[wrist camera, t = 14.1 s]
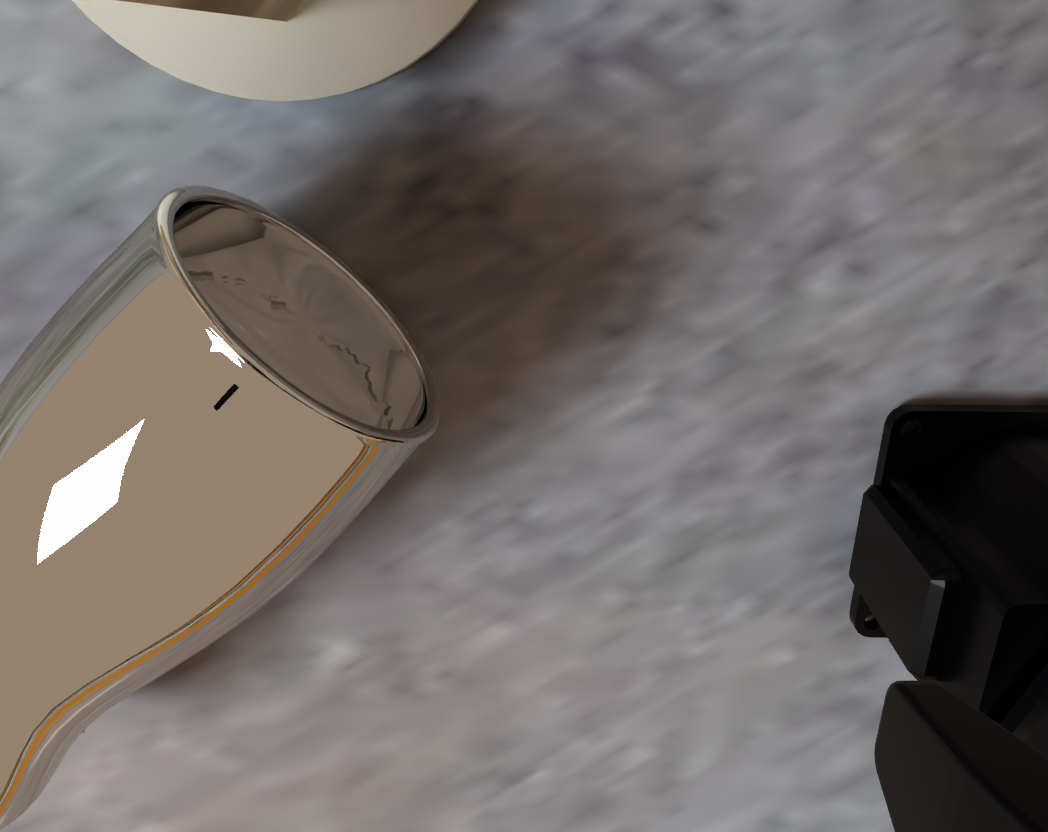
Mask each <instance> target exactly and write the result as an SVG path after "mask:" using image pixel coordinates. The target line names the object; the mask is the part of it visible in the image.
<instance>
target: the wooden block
mask: <svg viewBox="0 0 1048 832" xmlns="http://www.w3.org/2000/svg"><path fill="white" fill-rule="evenodd" d="M117 1H125V2H133V3H141V4H149V5H157V6H165V7H173V8H181V9H189V10H197V11H205V12H213V13H221V14H229V15H237V16H245V17H253V18H261V19H269V20H277V21H285V22H288V20H289V19H290V17H291V16H292V15H293V13H294V12H295V11H296V9H297V8H298V6H299V5H300V4H301V2H302V1H303V0H117Z"/></svg>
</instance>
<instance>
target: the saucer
mask: <svg viewBox="0 0 1048 832" xmlns="http://www.w3.org/2000/svg"><path fill="white" fill-rule="evenodd" d="M72 1H73V2H74V3H75V4H76V5H77V6H78V7H79V8H80V9H81V10H82V11H83V12H84V14H85V15H86V16H87V17H88V18H89V19H90V20H92V21H93V22H94V23H95V24H96V25H98V26H99V27H100V28H101V29H102V30H103V31H105V32H106V33H107V34H108V35H109V36H111V37H112V38H113V39H114V40H115V41H117V42H118V43H119V44H121V45H122V46H124V47H125V48H127V49H128V50H130V51H131V52H133V53H134V54H136V55H137V56H139V57H140V58H142V59H143V60H145V61H146V62H148V63H149V64H151V65H153V66H155V67H157V68H159V69H161V70H163V71H165V72H167V73H169V74H171V75H173V76H175V77H177V78H179V79H181V80H183V81H186V82H189V83H192V84H194V85H197V86H200V87H203V88H205V89H208V90H211V91H214V92H218V93H223V94H227V95H232V96H237V97H241V98H246V99H256V100H268V101H297V100H313V99H318V98H323V97H328V96H333V95H338V94H343V93H347V92H352V91H356V90H358V89H361V88H364V87H367V86H370V85H372V84H375V83H378V82H381V81H384V80H386V79H387V78H389V77H391V76H393V75H395V74H397V73H399V72H401V71H403V70H405V69H406V68H408V67H410V66H412V65H413V64H415V63H416V62H417V61H419V60H420V59H422V58H423V57H424V56H426V55H427V54H428V53H430V52H431V51H433V50H434V49H435V48H437V47H438V46H439V45H440V44H441V43H442V42H443V41H444V40H445V39H446V38H447V37H448V36H449V35H450V34H451V33H452V32H453V31H454V30H455V29H456V28H458V27H459V26H460V24H461V23H462V22H463V21H464V19H465V18H466V17H467V16H468V14H469V13H470V12H471V11H472V9H473V8H474V7H475V6H476V4H477V3H478V2H479V1H480V0H303V1H302V2H301V4H300V5H299V6H298V8H297V9H296V11H295V12H294V13H293V15H292V16H291V17H290V19H289V20H288V22H285V21H277V20H269V19H261V18H253V17H245V16H237V15H229V14H221V13H213V12H205V11H197V10H189V9H181V8H173V7H165V6H157V5H149V4H141V3H133V2H125V1H117V0H72Z"/></svg>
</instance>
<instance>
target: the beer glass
mask: <svg viewBox="0 0 1048 832" xmlns="http://www.w3.org/2000/svg"><path fill="white" fill-rule="evenodd" d="M440 417H441V400H440V395H439V391H438V387H437V384H436V381H435V379H434V376H433V374H432V372H431V369H430V367H429V365H428V363H427V361H426V359H425V358H424V356H423V354H422V352H421V351H420V349H419V347H418V346H417V344H416V343H415V341H414V340H413V338H412V337H411V335H410V334H409V332H408V331H407V330H406V328H405V327H404V326H403V324H402V323H401V322H400V320H399V319H398V318H397V317H396V315H395V314H394V313H393V312H392V310H391V309H390V308H389V307H388V306H387V305H386V304H385V302H384V301H383V300H382V299H381V298H380V297H379V296H378V295H377V294H376V293H375V292H374V290H373V289H372V288H371V287H370V286H369V285H368V284H367V283H366V282H365V281H364V280H363V279H362V278H361V277H359V276H358V275H357V274H356V273H355V272H354V271H353V270H352V269H351V268H350V267H349V266H348V265H346V264H345V263H344V262H343V261H342V260H341V259H340V258H338V257H337V256H336V255H335V254H334V253H332V252H331V251H330V250H329V249H327V248H326V247H325V246H324V245H322V244H321V243H320V242H318V241H317V240H316V239H314V238H313V237H312V236H310V235H309V234H307V233H306V232H305V231H303V230H302V229H300V228H299V227H297V226H296V225H294V224H293V223H291V222H289V221H288V220H286V219H285V218H283V217H281V216H280V215H278V214H276V213H274V212H273V211H271V210H269V209H267V208H265V207H263V206H261V205H259V204H257V203H255V202H253V201H251V200H248V199H246V198H244V197H241V196H239V195H236V194H233V193H230V192H227V191H224V190H220V189H216V188H212V187H206V186H184V187H179V188H176V189H173V190H171V191H169V192H168V193H167V194H165V195H164V196H163V197H162V198H161V199H160V201H159V202H158V204H157V206H156V208H155V209H154V210H153V211H152V212H151V213H150V215H149V216H148V217H147V218H146V219H145V220H144V221H143V222H142V223H141V224H140V225H139V226H138V227H137V228H136V229H135V230H134V232H133V233H132V234H131V235H130V236H129V237H128V238H127V239H126V240H125V241H124V242H123V243H122V244H121V245H120V246H119V247H118V248H117V249H116V250H115V251H114V252H113V253H112V254H111V255H110V256H109V257H108V258H107V259H106V260H105V261H104V262H103V263H102V264H101V265H100V266H99V267H98V268H97V269H96V270H95V271H94V272H93V273H92V274H91V275H90V276H89V277H88V279H87V280H86V281H85V282H84V283H83V284H82V285H81V286H80V287H79V288H78V289H77V290H76V291H75V292H74V293H73V294H72V295H71V297H70V298H69V299H68V300H67V301H66V302H65V303H64V304H63V305H62V307H61V308H60V309H59V310H58V311H57V312H56V314H55V315H54V316H53V317H52V318H51V319H50V321H49V322H48V323H47V324H46V325H45V327H44V328H43V329H42V330H41V331H40V332H39V334H38V335H37V336H36V337H35V338H34V339H33V341H32V342H31V343H30V344H29V345H28V347H27V348H26V349H25V351H24V352H23V353H22V355H21V356H20V358H19V359H18V360H17V362H16V363H15V364H14V366H13V367H12V369H11V370H10V371H9V373H8V374H7V376H6V377H5V378H4V380H3V381H2V382H1V384H0V830H1V829H2V828H4V827H6V826H7V825H9V824H10V823H12V822H13V821H14V820H16V819H17V818H18V817H19V816H20V815H21V814H23V813H24V812H25V811H26V810H27V809H28V808H29V807H30V806H31V804H32V803H33V802H34V801H35V800H36V799H37V798H38V797H39V795H40V794H41V793H42V791H43V790H44V788H45V787H46V785H47V784H48V782H49V781H50V779H51V778H52V776H53V774H54V773H55V771H56V770H57V768H58V766H59V765H60V763H61V761H62V760H63V758H64V756H65V755H66V753H67V752H68V750H69V748H70V747H71V746H72V744H73V743H74V742H75V740H76V739H77V738H78V736H79V735H80V734H81V733H85V731H84V730H85V729H86V728H87V727H88V726H89V725H90V724H91V723H92V722H93V721H95V720H96V719H97V718H98V717H99V716H100V715H102V714H103V713H104V712H105V711H107V710H108V709H110V708H111V707H113V706H114V705H116V704H117V703H119V702H120V701H122V700H123V699H125V698H126V697H128V696H129V695H131V694H132V693H134V692H135V691H137V690H139V689H140V688H142V687H144V686H145V685H147V684H149V683H150V682H152V681H153V680H155V679H157V678H158V677H160V676H162V675H163V674H165V673H167V672H168V671H170V670H171V669H173V668H175V667H176V666H178V665H179V664H181V663H183V662H184V661H186V660H187V659H189V658H190V657H192V656H194V655H195V654H197V653H198V652H200V651H202V650H203V649H205V648H206V647H208V646H210V645H211V644H213V643H214V642H216V641H217V640H219V639H220V638H221V637H223V636H224V635H226V634H227V633H228V632H230V631H231V630H233V629H234V628H235V627H237V626H238V625H240V624H241V623H242V622H244V621H245V620H247V619H248V618H249V617H251V616H252V615H254V614H255V613H256V612H258V611H259V610H260V609H262V608H263V607H264V606H265V605H267V604H268V603H269V602H270V601H271V600H272V599H273V598H275V597H276V596H277V595H278V594H279V593H280V592H281V591H282V590H284V589H285V588H286V587H287V586H288V585H289V584H290V583H292V582H293V581H294V580H295V579H296V578H297V577H298V576H300V575H301V574H302V573H303V572H304V571H305V570H306V569H307V568H308V567H309V566H310V565H311V564H312V563H313V562H314V561H315V560H316V559H317V558H318V557H319V556H320V555H321V554H322V553H323V552H324V551H325V550H326V549H327V548H328V547H329V546H330V545H331V544H332V543H333V542H334V541H335V540H336V539H337V538H338V537H339V536H340V535H341V534H342V533H343V532H344V531H345V530H346V529H347V528H348V527H349V526H350V524H351V523H352V522H353V521H354V520H355V519H356V518H357V517H358V515H359V514H360V513H361V512H362V511H363V510H364V509H365V508H366V506H367V505H368V504H369V503H370V502H371V501H372V500H373V499H374V498H375V496H376V495H377V494H378V493H379V492H380V491H381V490H382V488H383V487H384V486H385V485H386V484H387V482H388V481H389V480H390V479H391V478H392V477H393V475H394V474H395V473H396V472H397V471H398V470H399V468H400V467H401V466H402V465H403V464H404V463H405V461H406V460H407V459H408V458H409V457H410V456H411V455H412V454H413V453H414V451H415V450H416V449H417V448H418V447H419V446H420V445H421V444H422V443H423V442H424V441H425V440H427V439H428V438H429V437H431V436H432V435H433V433H434V432H435V431H436V429H437V427H438V425H439V422H440Z"/></svg>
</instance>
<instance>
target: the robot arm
mask: <svg viewBox="0 0 1048 832" xmlns="http://www.w3.org/2000/svg"><path fill="white" fill-rule="evenodd" d="M912 420H916V425H915V427H914V429H912V430H911V431H910V432H907V433H901V429H902V427H903V425H904V424H906V423H907V422H908V421H912ZM849 576H850V578H851V580H852V581H853V583H854V585H855V586H854V591H853V596H852V602H851V607H850V612H849V613H850V620H851V621H852V623H853V625H854V627H855V628H856V630H857V632H858V633H860V634H861V635H863V636H866V637H887V638H888V639H889V641H890V643H891V644H892V646H893V647H894V649H895V651H896V652H897V654H898V655H899V657H900V659H901V660H902V662H903V663H904V665H905V667H906V668H907V670H908V671H909V672H910V673H911V674H912V675H913V676H914V677H915V678H916V679H917V680H918V681H896V682H894V683H892V684H891V685H890V687H889V688H888V690H887V693H886V696H885V701H884V706H883V710H882V715H881V720H880V724H879V729H878V734H877V738H876V743H875V765H876V770H877V774H878V777H879V781H880V784H881V787H882V791H883V794H884V797H885V801H886V804H887V807H888V811H889V814H890V817H891V821H892V824H893V827H894V830H895V832H1048V406H1000V405H913V404H909V405H903V406H900V407H898V408H896V409H894V410H893V411H892V412H891V413H890V414H889V415H888V417H887V419H886V421H885V425H884V430H883V435H882V441H881V446H880V452H879V457H878V462H877V468H876V473H875V478H874V484H873V485H871V486H870V487H869V488H868V489H867V490H866V491H865V493H864V494H863V499H862V505H861V510H860V516H859V521H858V527H857V532H856V538H855V543H854V549H853V554H852V559H851V565H850V570H849ZM870 614H873V615H874V617H875V618H873V619H872V620H868V621H866V620H865V618H866V617H867V616H869V615H870Z"/></svg>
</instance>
